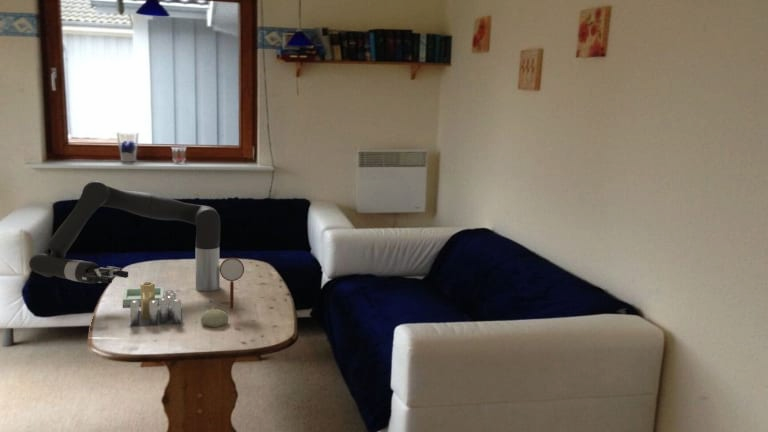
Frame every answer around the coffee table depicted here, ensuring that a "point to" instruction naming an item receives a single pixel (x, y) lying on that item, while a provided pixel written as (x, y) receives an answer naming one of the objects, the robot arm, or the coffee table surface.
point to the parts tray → (139, 295)
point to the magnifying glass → (231, 274)
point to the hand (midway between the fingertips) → (119, 277)
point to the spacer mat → (147, 323)
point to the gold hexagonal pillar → (146, 298)
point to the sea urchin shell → (214, 318)
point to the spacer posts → (167, 310)
